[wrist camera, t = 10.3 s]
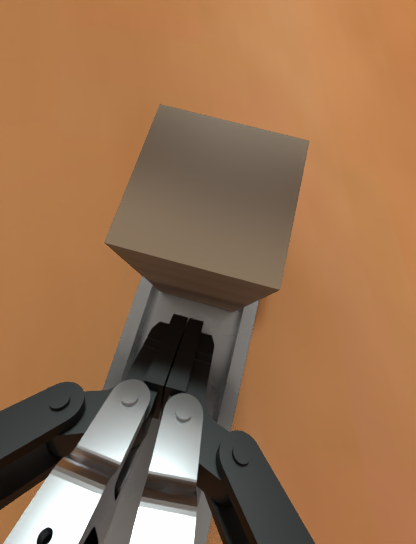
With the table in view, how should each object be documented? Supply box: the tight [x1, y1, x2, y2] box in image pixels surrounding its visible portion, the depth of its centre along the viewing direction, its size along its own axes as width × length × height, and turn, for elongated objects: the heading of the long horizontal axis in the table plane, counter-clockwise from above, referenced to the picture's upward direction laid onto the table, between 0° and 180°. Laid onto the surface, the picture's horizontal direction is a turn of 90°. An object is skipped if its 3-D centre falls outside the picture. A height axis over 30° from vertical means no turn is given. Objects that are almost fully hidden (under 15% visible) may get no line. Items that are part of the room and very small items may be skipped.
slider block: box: [104, 104, 309, 312], centre depth 11 cm, size 5×5×9 cm
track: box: [103, 276, 259, 544], centre depth 13 cm, size 22×8×5 cm, turn 165°
